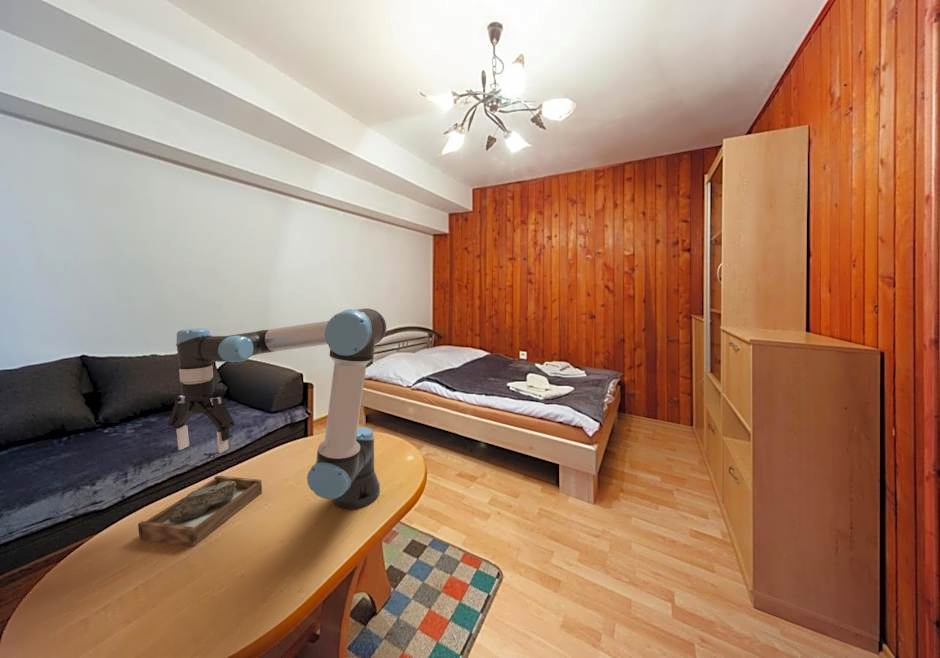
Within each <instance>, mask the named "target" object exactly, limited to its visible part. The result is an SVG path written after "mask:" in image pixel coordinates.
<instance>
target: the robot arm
mask: <svg viewBox="0 0 940 658" xmlns="http://www.w3.org/2000/svg"><path fill="white" fill-rule="evenodd" d="M386 332H387V323H386V320H385V318H384V316H383V315H382V314H381V313H380V312H378V311H377V310H376V309H371V308H357V309H351V308H350V309H346V310H342V311H340V312H338V313H336V314H335V315H333V316H332V317H331V318H330V319H329V320H324V321H323V320H322V321H317V322H310V323H309V322H308V323H304V324H295V325H291V326H289V325H288V326H284V327H278V328H271V329H270V328H269V329H262V330H257V331H256V330H255V331H250V332H244V333H237V334H230V335H211V334H210V333H211V332H210V330H209V329H208V328H203V327H202V328H188V329H187V328H186V329H180V330H178V331H177V332H176V344H175V346H176V350H177V358H178V360H177V361H178V369H179V370H178V371H179V374H178V375H179V382H180V391H181V392H180V394H181V395H178V396H175V397H174V405H173V408H172V411H171V414H170V417H169V420H168V422H167V426H168V427H172V428H173V429H174V431H175V437H176V439H177V440H176V441H177V450H178V451H181V450H184V449H185V448H186V449H187V447H189V446H190V441H189V439H190V438H189V428H188V425H187V422H188V420H189V419H190V418H191V416H192V415H193V414H194V413H202V414H203V415H206V416H207V417H208V419H209V420H210V421H211V422H212V423H213V425H214V426H215V428H216V429H217V431H216V440H217V452H218V453H219V454H220V453H223V452H225V451H227V450H228V449H229V448H230V447H229V439H230V431H229V429H231V428H233V427H235V426H236V423H235V421H234V420H233V418H232V416H231V414H230V412H229V409H228V408H227V406H226V404H225V402H224V397H223V396H222V395H219V396H218V397H214V396H213V393H214V391H215V381H214V379H213V378H214V370H213V362H217V363H218V362H219V363H220V362H222V363H223V362H224V363H225V362H226V363H237V362H239V363H241V362H246V361H248V360H249V358H251V357H253V356H257V355H262V354H268V353H275V352H280V351H281V352H282V351H289V350H296V349H302V348H308V347H309V348H311V347H318V346H324V345H328V348H329V357H330V358H331V360H332V361H333V364H334V365H333V373H332V378H331V387H330V397H329V402H328V403H329V404H328V411H327V419H326V425H325V426H326V427H325V428H326V429H325V434H324V440H323V441H321V443H319V445H318V447H317V452H316V461H315V464H313V465H312V466H311V467H310V469H309V471H308V472H307V477H306V479H307V485H308V487H309V489H310V490H311V491H312V492H313V493H314V494H315V495H316V496H317V497H320V498H322V499H325V500H332V501H333V503H334V505H335V506H337V507H338V508H341V509H346V510H347V509H349V510H350V509H357V508H358V509H359V508H362V507H366V506H367V505H369V504H371V503H373V502H374V501H376V499H377V498H378V497H379V495H380V492H381V485H380V484H381V483H380V482H379V478H378V477H377V476H378V475H377V474H376V471H375V438H374V431H373V430H372V429H370V428H369V427H362V426H359V421H360V416H361V415H360V414H361V413H360V412H361V406H362V398H363V392H364V386H365V385H364V384H365V377H366V370H367V365H368V364H369V363H370V362H372V361H373V358H374V352H375V345H376V344H379V343H380V342H381V340H383V339H384V337H385V334H386Z"/></svg>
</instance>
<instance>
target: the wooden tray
mask: <svg viewBox="0 0 940 658" xmlns="http://www.w3.org/2000/svg"><path fill="white" fill-rule="evenodd" d="M213 478H214V479H212V480H210V481H208V482H207V483H205V484H204V485H202V486H200V487H199V488H198V489H202V488H207V487H210V486H214V485H217V484H219V483H221V482H226V481H235V482H236V486H235V493H234V496H233V498H232V500H231V501H230V502H229V503H226V504H224V505H220V506H216V507H212V508H209V509H208V510H207V511H206V512H205V513H204V514H202V515H201V516H199V517H196V518H191V519H187V520H182V521H178V522H170V521H169V517H170V515H171V513H172V512H173V510H174V508H175V507H177V506H178V503H179V502H180V500H181V499H179V500H178V501H176V502H174V503H172V504H171V505H170V506H168V507H166V508H165V509H163V510H161V511H159V512H158V513H156V514H154V515H153V516H151V517H150V518H149V519H147V520H145V521H144V520H141V521H139V522H138V523H137V526H138V537H139V540H140V541H145V542H146V541H147V542H152V543H153V542H156V543H161V544H170V545H176V546H177V545H178V546H186V547H193V548H194V547H196V546H197V545H198V544H199V543H200V542H202V541H203V540H204V539H206V538H207V537H208V536H210V534H212V533H213V532H215V531H216V530H217V529H219V528H220V527H221V526H222V525H223V524H224V523H226V522H227V521H228V520H229V519H231V518H232V517H234V516H235V515H236V514H237V513H239V512H240V511H241V510H242V509H243V508H245V507H246V506H248V505H249V504H250V503H251V502H253V501H254V500H255V499H256V498H258V497H259V496H260V495H261V494H263V486H262V483H263V482H262V479H257V478H245V477H236V476H225V475H215V476H214V477H213Z"/></svg>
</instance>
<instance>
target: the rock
mask: <svg viewBox="0 0 940 658" xmlns="http://www.w3.org/2000/svg"><path fill="white" fill-rule="evenodd" d="M235 486H236V482H235V481H226V482H221V483H219V484H217V485H214V486H210V487H207V488H202V489H199V488H197V489H195V490H193V491H191V492H190V493H188V494H187V495H186V496H184V497H182V498H181V499H179V500H180V502H179V503H178V506H177V507H175V508H174V510H173V512H172V513H171V515H170V517H169V521H170V522H178V521H182V520H187V519H191V518H196V517H199V516H201V515H202V514H204V513H205V512H206V511H207V510H208V509H209V508H212V507H216V506H220V505H224V504H226V503H229V502H230V501H231V500H232V498H233V496H234V493H235Z"/></svg>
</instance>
